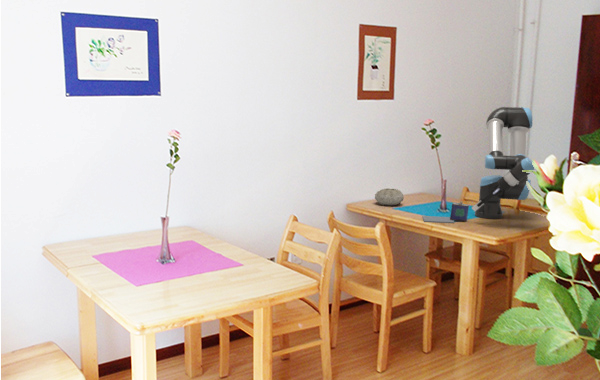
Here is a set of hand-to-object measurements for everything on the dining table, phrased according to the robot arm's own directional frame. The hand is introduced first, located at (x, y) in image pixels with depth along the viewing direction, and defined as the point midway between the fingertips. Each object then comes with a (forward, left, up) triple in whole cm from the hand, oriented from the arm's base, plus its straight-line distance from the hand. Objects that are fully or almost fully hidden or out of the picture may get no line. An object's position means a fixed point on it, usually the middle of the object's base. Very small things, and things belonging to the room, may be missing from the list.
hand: (473, 209), depth 315 cm
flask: (+7, -3, -7) cm, 10 cm away
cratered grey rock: (+44, -43, -8) cm, 62 cm away
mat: (+18, -3, -7) cm, 20 cm away
